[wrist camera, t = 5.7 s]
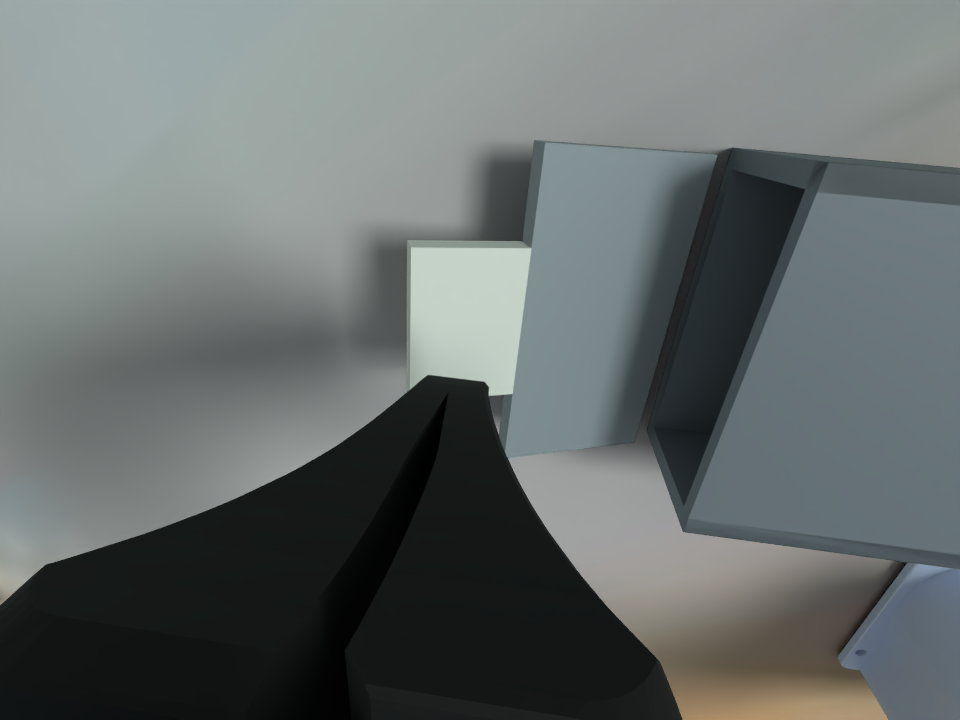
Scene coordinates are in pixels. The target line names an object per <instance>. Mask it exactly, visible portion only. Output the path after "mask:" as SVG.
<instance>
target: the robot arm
mask: <svg viewBox="0 0 960 720" xmlns="http://www.w3.org/2000/svg"><path fill="white" fill-rule="evenodd" d="M838 660H839V662H840V664H841V665H842V666H843V667H844V668H847V669H853V670H859V671H860V672H861V674H862V675H863V677H864V679H865V680H866V682H867V684H868V685H869V687H870V689H871V691H872V692H873V694H874V696H875V697H876V699H877V701H878V702H879V704H880V706H881V708H882V709H883V711H884V713H885V714H886V716H887V718H888V720H960V569H952V568H945V567H937V566H930V565H923V564H915V563H907V564H906V565H905V567H904V568H903V569H902V571H901V572H900V573H899V575H898V576H897V577H896V579H895V580H894V581H893V583H892V584H891V586H890V587H889V588H888V590H887V591H886V592H885V594H884V595H883V596H882V598H881V599H880V600H879V602H878V603H877V604H876V606H875V607H874V608H873V610H872V611H871V612H870V614H869V615H868V616H867V618H866V619H865V620H864V622H863V623H862V625H861V626H860V627H859V629H858V630H857V631H856V633H855V634H854V635H853V637H852V638H851V639H850V641H849V642H848V643H847V645H846V646H845V647H844V649H843V650H842V651H841V653H840V654H839V656H838ZM0 720H682V717H681V714H680V712H679V709H678V706H677V703H676V701H675V698H674V696H673V693H672V691H671V688H670V686H669V683H668V681H667V678H666V676H665V673H664V671H663V668H662V666H661V664H660V662H659V661H658V659H657V658H656V657H655V656H654V655H653V654H652V653H651V652H650V651H649V650H648V649H647V648H646V647H645V646H644V645H643V644H642V643H641V642H640V641H639V640H638V639H637V638H636V636H635V635H634V634H633V633H632V632H631V631H630V630H629V629H628V628H627V627H626V626H625V625H624V624H623V623H622V622H621V621H620V620H619V619H618V618H617V617H616V616H615V615H614V614H613V613H612V611H611V610H610V609H609V608H608V607H607V606H606V605H605V604H604V602H603V601H602V600H601V599H600V598H599V596H598V595H597V594H596V593H595V592H594V590H593V589H592V588H591V587H590V586H589V584H588V583H587V582H586V581H585V580H584V578H583V577H582V576H581V575H580V574H579V572H578V571H577V570H576V568H575V567H574V566H573V564H572V563H571V562H570V560H569V559H568V557H567V556H566V555H565V553H564V552H563V551H562V549H561V548H560V547H559V545H558V544H557V543H556V541H555V540H554V538H553V537H552V536H551V534H550V533H549V532H548V530H547V529H546V527H545V526H544V524H543V522H542V521H541V519H540V518H539V516H538V515H537V513H536V511H535V510H534V508H533V507H532V505H531V503H530V501H529V500H528V498H527V496H526V494H525V493H524V491H523V489H522V487H521V485H520V483H519V481H518V479H517V477H516V475H515V473H514V471H513V469H512V467H511V465H510V462H509V460H508V458H507V456H506V453H505V451H504V448H503V446H502V443H501V440H500V437H499V435H498V432H497V429H496V426H495V423H494V419H493V416H492V411H491V407H490V402H489V386H488V385H487V384H486V383H485V382H483V381H475V380H467V379H459V378H450V377H442V376H434V375H427V376H426V377H424V378H423V379H422V380H421V381H419V382H418V383H417V384H416V385H415V386H414V387H412V388H411V389H410V390H409V391H408V392H407V393H406V394H404V395H403V396H402V397H401V398H400V399H398V400H397V401H396V402H395V403H394V404H393V405H391V406H390V407H389V408H387V409H386V410H385V411H384V412H382V413H381V414H380V415H379V416H377V417H376V418H375V419H374V420H372V421H371V422H370V423H368V424H367V425H366V426H364V427H363V428H362V429H360V430H359V431H357V432H356V433H354V434H353V435H352V436H350V437H349V438H347V439H346V440H344V441H343V442H342V443H340V444H339V445H337V446H336V447H334V448H332V449H331V450H329V451H328V452H326V453H324V454H323V455H321V456H319V457H317V458H316V459H314V460H312V461H310V462H309V463H307V464H305V465H303V466H302V467H300V468H298V469H296V470H294V471H292V472H290V473H289V474H287V475H285V476H282V477H280V478H278V479H276V480H274V481H272V482H270V483H268V484H266V485H264V486H261V487H259V488H257V489H255V490H253V491H251V492H249V493H247V494H245V495H243V496H240V497H238V498H236V499H234V500H231V501H229V502H227V503H224V504H222V505H219V506H217V507H215V508H212V509H210V510H207V511H205V512H202V513H200V514H197V515H195V516H192V517H189V518H187V519H184V520H181V521H179V522H176V523H174V524H171V525H168V526H166V527H163V528H160V529H157V530H154V531H151V532H149V533H146V534H143V535H140V536H137V537H133V538H130V539H127V540H124V541H121V542H118V543H115V544H111V545H108V546H105V547H102V548H99V549H96V550H93V551H90V552H86V553H83V554H80V555H77V556H74V557H71V558H67V559H64V560H61V561H57V562H54V563H50V564H47V565H45V566H44V567H43V568H41V569H40V570H39V571H38V572H37V573H36V574H35V575H33V576H32V577H31V578H30V579H29V580H28V581H27V582H26V583H24V584H23V585H22V586H21V587H20V588H19V589H18V590H17V591H16V592H15V593H13V594H12V595H11V596H10V597H9V598H8V599H7V600H6V601H5V602H3V603H2V604H1V605H0Z"/></svg>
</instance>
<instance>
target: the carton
mask: <svg viewBox="0 0 960 720" xmlns="http://www.w3.org/2000/svg"><path fill="white" fill-rule="evenodd" d="M647 433H648V435H649V438H650V441H651V444H652V447H653V449H654V452H655V455H656V458H657V461H658V463H659V466H660V469H661V472H662V475H663V477H664V480H665V483H666V486H667V489H668V491H669V494H670V497H671V500H672V503H673V505H674V508H675V511H676V514H677V517H678V519H679V522H680V525H681V528H682V531H683V532H687V533H694V534H702V535H709V536H717V537H724V538H731V539H739V540H746V541H753V542H761V543H768V544H775V545H783V546H790V547H798V548H805V549H812V550H820V551H827V552H834V553H842V554H849V555H856V556H864V557H871V558H879V559H886V560H893V561H901V562H908V563H915V564H923V565H930V566H937V567H945V568H952V569H960V168H952V167H941V166H930V165H919V164H908V163H897V162H885V161H874V160H863V159H852V158H841V157H830V156H818V155H807V154H796V153H785V152H774V151H763V150H751V149H740V148H732V150H731V153H730V156H729V160H728V163H727V166H726V169H725V173H724V176H723V179H722V183H721V186H720V189H719V193H718V196H717V199H716V203H715V206H714V209H713V213H712V216H711V219H710V223H709V226H708V229H707V233H706V236H705V239H704V243H703V246H702V249H701V252H700V256H699V259H698V262H697V266H696V269H695V272H694V276H693V279H692V282H691V286H690V289H689V292H688V296H687V299H686V302H685V306H684V309H683V312H682V316H681V319H680V322H679V325H678V329H677V332H676V335H675V339H674V342H673V345H672V349H671V352H670V355H669V359H668V362H667V365H666V369H665V372H664V375H663V379H662V382H661V385H660V389H659V392H658V395H657V399H656V402H655V405H654V408H653V412H652V415H651V418H650V422H649V425H648V428H647Z"/></svg>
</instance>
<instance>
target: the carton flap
mask: <svg viewBox="0 0 960 720" xmlns="http://www.w3.org/2000/svg"><path fill="white" fill-rule="evenodd" d="M716 159H717V155H714V154H707V153H700V152H686V151H673V150H659V149H646V148H632V147H619V146H605V145H591V144H578V143H564V142H551V141H537V140H534V146H533V155H532V163H531V172H530V180H529V188H528V197H527V205H526V213H525V222H524V230H523V238H522V241H450V240H407V366H406V390H407V392H408V391H409V390H410V389H411V388H412V387H414V386H415V385H416V384H417V383H418V382H419V381H421V380H422V379H423V378H424V377H426V376H427V375H434V376H442V377H450V378H459V379H467V380H475V381H483V382H485V383H486V384H487V385H488V386H489V396H495V395H504V397H503V405H502V414H501V422H500V430H499V437H500V440H501V443H502V446H503V448H504V451H505V453H506V456H507V458H511V457H519V456H528V455H536V454H544V453H552V452H560V451H568V450H576V449H585V448H593V447H601V446H609V445H617V444H625V443H634V441H635V438H636V435H637V431H638V428H639V424H640V421H641V417H642V414H643V410H644V407H645V404H646V400H647V397H648V393H649V390H650V386H651V383H652V379H653V376H654V373H655V369H656V366H657V362H658V359H659V355H660V352H661V348H662V345H663V341H664V338H665V335H666V331H667V328H668V324H669V321H670V317H671V314H672V310H673V307H674V304H675V300H676V297H677V293H678V290H679V286H680V283H681V279H682V276H683V273H684V269H685V266H686V262H687V259H688V255H689V252H690V248H691V245H692V241H693V238H694V235H695V231H696V228H697V224H698V221H699V217H700V214H701V210H702V207H703V204H704V200H705V197H706V193H707V190H708V186H709V183H710V179H711V176H712V172H713V169H714V166H715V162H716Z"/></svg>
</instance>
